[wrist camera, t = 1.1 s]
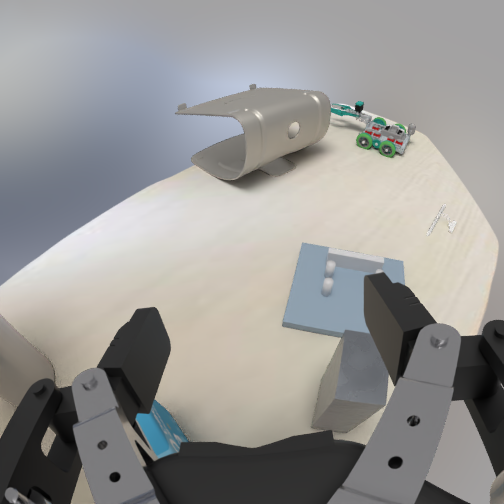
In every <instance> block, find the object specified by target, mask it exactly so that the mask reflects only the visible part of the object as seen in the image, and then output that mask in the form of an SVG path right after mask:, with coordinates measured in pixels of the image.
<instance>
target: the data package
mask: <svg viewBox="0 0 504 504" xmlns="http://www.w3.org/2000/svg"><path fill="white" fill-rule="evenodd" d="M136 420H137V421H138V423H139V424H140V426H141V428H142V430H143V432H144V434H145V436H146V438H147V440H148V442H149V443H150V445H151V447H152V449H153V451H154V452H155V454H156V456H157V457H158V459H159V458H161V457H164V456H167V455H169V454H173V453H177V452H179V449H180V444H181V442H189V441H188V440H187V438H186V437H185V435H184V434H183V432H182V431H181V429H180V428H179V426H178V425H177V423H176V422H175V420H174V419H173V417H172V416H171V415H170V413H169V412H168V411H167V410H166V409H165V408H164V407H163V406H161V405H160V404H159V403H158V402H157V401H156V400H155V399H154V402H153V405H152V408H151V411H150V414H140V413H138V414H137V416H136Z"/></svg>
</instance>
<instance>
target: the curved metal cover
mask: <svg viewBox="0 0 504 504" xmlns="http://www.w3.org/2000/svg"><path fill="white" fill-rule="evenodd" d="M178 110H179V111H178V112H176V113H175V114H182V115H183V114H184V115H206V116H222V117H233V118H235V119H236V120H238V121H239V122H240V123H241V125H242V127H243V130H244V134H241V135H238V136H235V137H232V138H229V139H226V140H224V141H221V142H219V143H216V144H214V145H212V146H210V147H208V148H206V149H204V150H202V151H200V152H198V153H196V154H195V155H193V157H192V158H191V161H192V163H194V164H195V165H196V166H198V167H199V168H201V169H203V170H204V171H206V172H207V173H209V174H210V175H212V176H215V177H217V178H220V179H224V180H235V179H238V178H240V177H242V176H244V175H246V174H248V173H250V172H251V171H254V170H256V169H259V170H261V171H263V172H265V173H266V174H268V175H271V176H273V177H279V176H282V175H284V174H286V173H288V172H290V171H292V170H294V169H295V168H296V164H294V163H292V162H291V161H289V160H287V159H285V158H283V157H281V156H284V155H286V154H288V153H293V152H296V151H298V150H301V149H303V148H305V147H308V146H310V145H312V144H315V143H317V142H318V141H320V140H321V139H322V138H323V137H324V135H325V134H326V132H327V130H328V127H329V123H330V116H331V105H330V101H329V98H328V97H327V96H326V95H325V94H324V93H322V92H319V91H310V90H297V89H281V88H257V89H256V85H255V84H252V85H250V90H249V91H245V92H241V93H237V94H234V95H230V96H226V97H222V98H219V99H216V100H212V101H209V102H206V103H202V104H199V105H196V106H193V107H190V108H187V107H186V104H185V103H184V104H181V105H179V106H178ZM293 122H298V123H299V126H300V128H299V132H298V134H297V135H296V136H295V137H294V138H288V129H289V127H290V125H291V124H292V123H293Z"/></svg>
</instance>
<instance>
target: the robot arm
mask: <svg viewBox="0 0 504 504" xmlns="http://www.w3.org/2000/svg"><path fill="white" fill-rule="evenodd" d="M364 318H365V323H366V326H367V328H368V330H369V332H370V334H371V336H372V338H373V340H374V342H375V345H376V347H377V349H378V351H379V353H380V355H381V357H382V360H383V362H384V364H385V366H386V368H387V370H388V373H389V375H390V377H391V379H392V382H393V384H394V386H396V387H395V389H394V391H393V393H392V396H391V398H390V400H389V402H388V404H387V406H386V409H385V411H384V413H383V415H382V417H381V419H380V421H379V423H378V425H377V427H376V429H375V431H374V432H373V434H372V436H371V438H370V440H369V442H368V444H367V445H363V444H360V443H356V442H352V441H345V440H334V438H333V433H332V430H328V431H323V432H317V433H311V434H304V435H297V436H292V437H289V438H286V439H283V440H280V441H277V442H274V443H271V444H268V445H264V446H261V447H257V448H247V447H240V446H234V445H229V444H223V443H218V442H181V444H180V449H179V452H177V453H173V454H169V455H167V456H164V457H161V458H159V459H158V457H157V456H156V454H155V452H154V451H153V449H152V447H151V445H150V443H149V442H148V440H147V438H146V436H145V434H144V432H143V430H142V428H141V426H140V424H139V423H138V421H137V420H136V416H137V414H138V413H140V414H150V411H151V408H152V405H153V402H154V399H155V396H156V393H157V390H158V387H159V384H160V381H161V378H162V375H163V372H164V369H165V366H166V363H167V360H168V357H169V355H170V351H171V345H170V339H169V337H168V334H167V332H166V329H165V327H164V324H163V322H162V319H161V317H160V314H159V312H158V310H157V308H155V307H150V308H141V309H137V310H136V311H135V313H134V314H133V316H132V318H131V319H130V321H129V322H127V323H126V324H125V325H123V326H122V327H121V328H120V329H119V330H118V332H117V333H116V335H115V337H114V340H112V342H111V343H110V347H108V349H107V350H106V352H105V354H104V355H103V357H102V359H101V361H100V362H99V364H98V366H97V368H91V369H88V370H85V371H83V372H82V373H80V374H79V375H78V376H77V377H76V378H75V379H74V381H73V383H72V386H68V387H64V388H59V389H58V387H57V386H56V384H55V383H54V378H55V377H54V370H53V367H52V365H51V363H50V361H49V360H48V359H47V358H46V357H45V356H44V355H43V354H42V353H41V352H39V351H38V350H37V349H36V348H35V347H34V346H33V345H32V344H31V343H30V342H28V341H27V340H26V339H25V338H24V337H23V336H22V335H21V334H20V333H19V332H18V331H17V330H16V329H15V328H14V327H13V326H12V325H11V324H10V323H9V322H8V321H7V320H6V319H5V318H4V317H3V316H2V315H1V314H0V397H1V398H3V399H4V400H6V401H8V402H9V403H11V404H13V405H14V406H16V407H17V409H16V411H15V413H14V414H13V416H12V418H11V420H10V422H9V423H8V425H7V427H6V429H5V431H4V433H3V434H2V436H1V438H0V504H70V503H71V500H72V496H73V493H74V490H75V487H76V483H77V480H78V477H79V474H80V471H81V468H82V465H83V468H84V472H85V475H86V478H87V481H88V484H89V487H90V490H91V493H92V495H93V498H94V501H95V503H96V504H470V503H468V502H466V501H464V500H461V499H460V498H458V497H456V496H454V495H452V494H450V493H448V492H446V491H444V490H443V489H441V488H439V487H437V486H435V485H433V484H431V483H430V482H428V481H426V480H425V478H426V476H427V474H428V471H429V469H430V466H431V463H432V461H433V458H434V455H435V453H436V450H437V447H438V443H439V441H440V438H441V435H442V431H443V428H444V425H445V422H446V418H447V414H448V411H449V407H450V403H451V401H455V400H464V402H465V404H466V406H467V408H468V410H469V412H470V414H471V416H472V419H473V421H474V423H475V425H476V427H477V429H478V432H479V434H480V436H481V439H482V441H483V444H484V446H485V448H486V451H487V453H488V456H489V458H490V461H491V463H492V466H493V469H494V472H495V474H496V479H495V480H494V481H493V483H492V486H491V489H490V504H504V389H503V388H502V386H501V383H502V385H503V387H504V321H503V320H493V321H490V322H488V323H487V324H486V325H485V326H484V328H483V331H482V335H475V336H460V334H459V333H458V331H457V330H456V329H454V328H453V327H451V326H449V325H446V324H440V323H437V322H436V321H435V320H434V318H433V317H432V316H431V315H430V313H429V312H428V311H427V310H426V308H425V307H424V306H423V305H422V303H420V301H419V300H418V298H417V297H415V295H414V293H413V292H412V291H411V290H410V289H409V288H408V287H407V286H405V285H403V284H401V283H399V282H396V283H392V281H391V280H390V279H389V277H388V276H387V275H386V274H385V273H384V272H381V273H376V274H370V275H365V277H364ZM48 426H49V427H50V428H51V429H52V430H53V432H54V433H55V434H56V437H55V439H54V442H53V444H52V446H51V449H50V451H49V453H48V456H47V457H46V456H45V455H44V454H43V452H42V449H41V441H42V439H43V437H44V435H45V433H46V430H47V428H48Z"/></svg>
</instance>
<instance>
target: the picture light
mask: <svg viewBox="0 0 504 504" xmlns="http://www.w3.org/2000/svg"><path fill="white" fill-rule="evenodd" d="M445 207H446V204H443V206H442V208H441V210H440V211H439V213H438V215H437V217H436V218H435V220H434V222H433V224H432V225H431V227H430V229H429V230H428V232H427V236H429V235H430V234H431V232H432V230H433V228H434V226H435V225H436V223H437V221H438V219H439V218H440V216H443V215H441V214H444V213H442V212H443V210H444V208H445ZM445 215H447V214H445ZM447 216H448V215H447ZM444 217H446V216H444ZM448 217H449V216H448ZM446 218H447V217H446ZM447 219H448V218H447ZM449 221H450V218H449V220H448V222H449ZM455 225H456V221H453V222H452V223H451V224H450V222H449V224H448V227H449V232H450V233H452V231H453V229H454V227H455Z"/></svg>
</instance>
